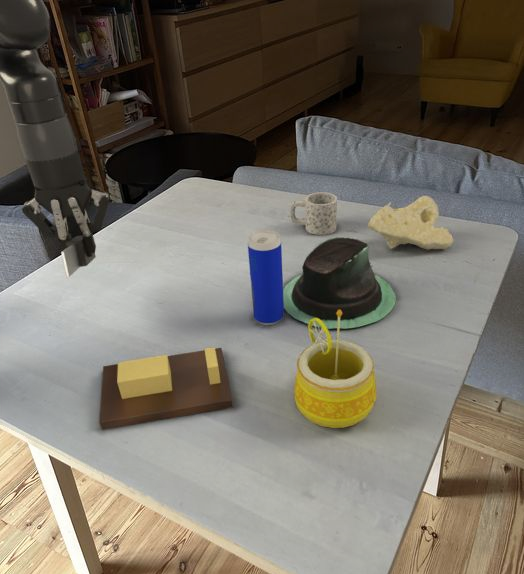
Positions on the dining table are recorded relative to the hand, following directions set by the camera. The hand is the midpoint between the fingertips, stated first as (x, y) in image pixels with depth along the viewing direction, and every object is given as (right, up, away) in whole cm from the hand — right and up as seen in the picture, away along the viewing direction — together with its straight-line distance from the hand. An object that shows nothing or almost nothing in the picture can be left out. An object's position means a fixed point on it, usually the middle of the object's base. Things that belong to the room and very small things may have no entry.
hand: (82, 255), depth 88 cm
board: (+16, -21, -10) cm, 28 cm away
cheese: (+58, +4, +18) cm, 61 cm away
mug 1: (+41, +11, +28) cm, 51 cm away
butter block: (+13, -21, -12) cm, 27 cm away
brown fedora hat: (+43, -6, +6) cm, 44 cm away
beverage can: (+31, -10, +3) cm, 33 cm away
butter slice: (+23, -19, -11) cm, 31 cm away
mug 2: (+40, -23, -14) cm, 48 cm away
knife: (+1, -3, -4) cm, 5 cm away
